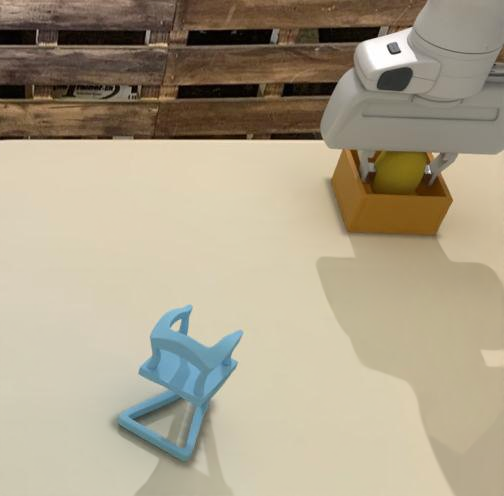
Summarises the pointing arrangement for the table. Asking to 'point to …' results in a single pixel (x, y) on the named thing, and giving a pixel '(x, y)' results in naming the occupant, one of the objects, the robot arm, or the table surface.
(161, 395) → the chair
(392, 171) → the lemon
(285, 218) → the table surface
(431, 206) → the ochre bin
